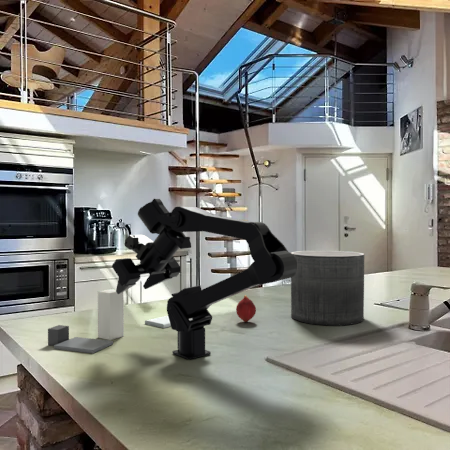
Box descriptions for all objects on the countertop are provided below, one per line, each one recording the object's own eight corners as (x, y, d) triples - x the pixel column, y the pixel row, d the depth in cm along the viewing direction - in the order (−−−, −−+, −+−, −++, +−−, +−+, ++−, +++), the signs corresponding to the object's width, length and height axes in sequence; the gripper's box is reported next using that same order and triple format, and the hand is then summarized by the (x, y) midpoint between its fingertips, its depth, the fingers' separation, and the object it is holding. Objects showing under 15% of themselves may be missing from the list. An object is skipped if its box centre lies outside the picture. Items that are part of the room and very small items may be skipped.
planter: (306, 328, 128) (307, 257, 127) (281, 312, 149) (281, 251, 149) (378, 324, 132) (378, 255, 132) (343, 309, 154) (343, 250, 153)
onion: (259, 322, 135) (259, 295, 135) (247, 325, 131) (247, 297, 131) (244, 319, 139) (244, 293, 139) (232, 322, 135) (232, 295, 135)
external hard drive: (144, 325, 133) (175, 318, 143) (163, 330, 128) (194, 321, 137) (144, 320, 133) (175, 312, 142) (163, 324, 128) (194, 316, 137)
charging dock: (112, 344, 112) (112, 327, 112) (93, 353, 104) (93, 335, 104) (64, 338, 116) (64, 323, 116) (42, 347, 109) (42, 330, 109)
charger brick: (123, 336, 119) (123, 290, 119) (110, 340, 115) (109, 293, 115) (111, 333, 122) (111, 289, 122) (98, 337, 118) (97, 291, 118)
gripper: (171, 223, 118) (141, 263, 125) (117, 224, 103) (86, 269, 109) (195, 254, 114) (163, 294, 120) (142, 260, 99) (108, 305, 105)
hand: (131, 290), depth 114 cm, fingers open, 9 cm apart
